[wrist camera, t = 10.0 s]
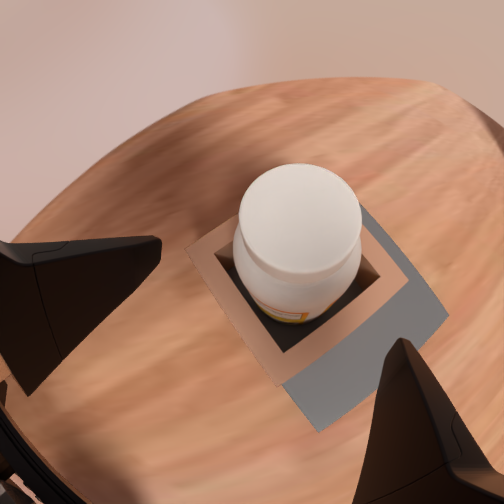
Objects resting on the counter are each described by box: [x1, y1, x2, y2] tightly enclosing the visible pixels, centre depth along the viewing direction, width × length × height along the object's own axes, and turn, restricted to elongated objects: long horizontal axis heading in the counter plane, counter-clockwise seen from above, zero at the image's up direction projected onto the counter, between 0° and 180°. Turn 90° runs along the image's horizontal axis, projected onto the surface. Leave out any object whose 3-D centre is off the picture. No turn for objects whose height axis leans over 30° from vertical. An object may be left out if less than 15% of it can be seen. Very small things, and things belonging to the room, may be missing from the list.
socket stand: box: [185, 203, 449, 433], centre depth 16 cm, size 14×12×4 cm
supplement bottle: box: [233, 163, 362, 325], centre depth 13 cm, size 5×5×10 cm
